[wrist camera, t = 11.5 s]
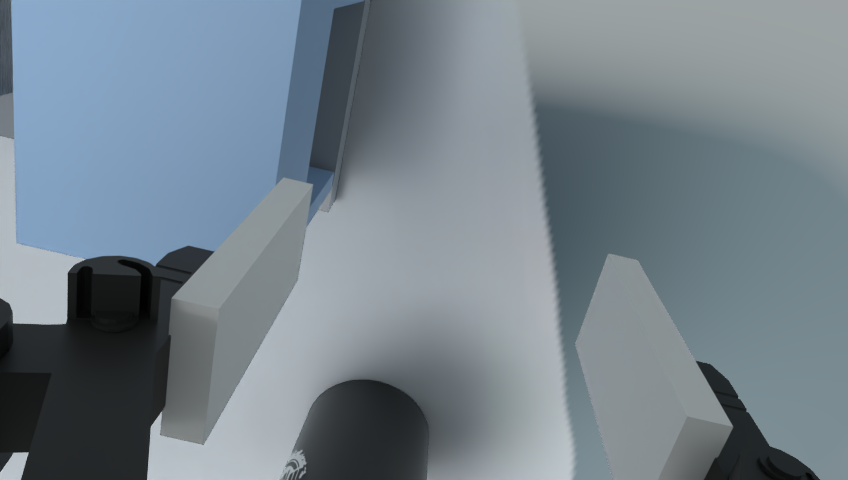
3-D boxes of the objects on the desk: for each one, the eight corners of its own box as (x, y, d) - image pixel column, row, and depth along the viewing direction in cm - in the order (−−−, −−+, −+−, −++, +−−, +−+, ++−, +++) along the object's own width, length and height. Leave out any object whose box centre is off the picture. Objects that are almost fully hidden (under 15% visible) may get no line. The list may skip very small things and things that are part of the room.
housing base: (-134, 91, 38) (-199, 104, 35) (-164, -183, 33) (-244, -203, 29) (334, 200, 39) (320, 224, 35) (380, -52, 34) (368, -55, 30)
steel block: (105, 68, 35) (-27, 102, 26) (31, 50, 35) (-129, 78, 25) (108, -11, 33) (-32, -4, 24) (30, -29, 33) (-140, -30, 24)
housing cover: (171, 151, 36) (16, 243, 24) (186, -64, 32) (9, -88, 20) (331, 189, 36) (259, 299, 24) (368, -21, 32) (303, -17, 20)
